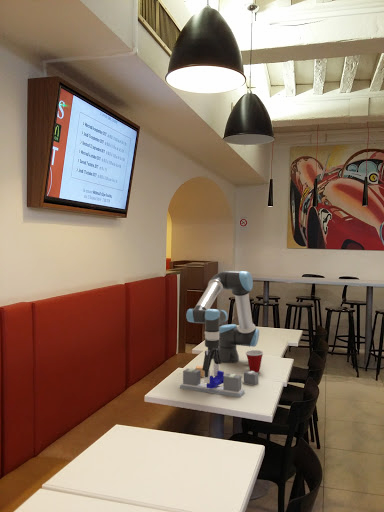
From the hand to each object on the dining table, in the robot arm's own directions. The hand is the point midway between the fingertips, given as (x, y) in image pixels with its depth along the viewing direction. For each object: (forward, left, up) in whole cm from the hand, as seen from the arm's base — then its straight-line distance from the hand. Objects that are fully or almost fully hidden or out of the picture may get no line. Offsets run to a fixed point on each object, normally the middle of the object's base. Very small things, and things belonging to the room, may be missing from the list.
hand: (211, 379), depth 240 cm
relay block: (-21, +15, -6) cm, 27 cm away
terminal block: (-23, -16, -6) cm, 29 cm away
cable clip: (0, +1, -3) cm, 3 cm away
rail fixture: (0, 0, -6) cm, 6 cm away
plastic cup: (-44, +10, -6) cm, 46 cm away
